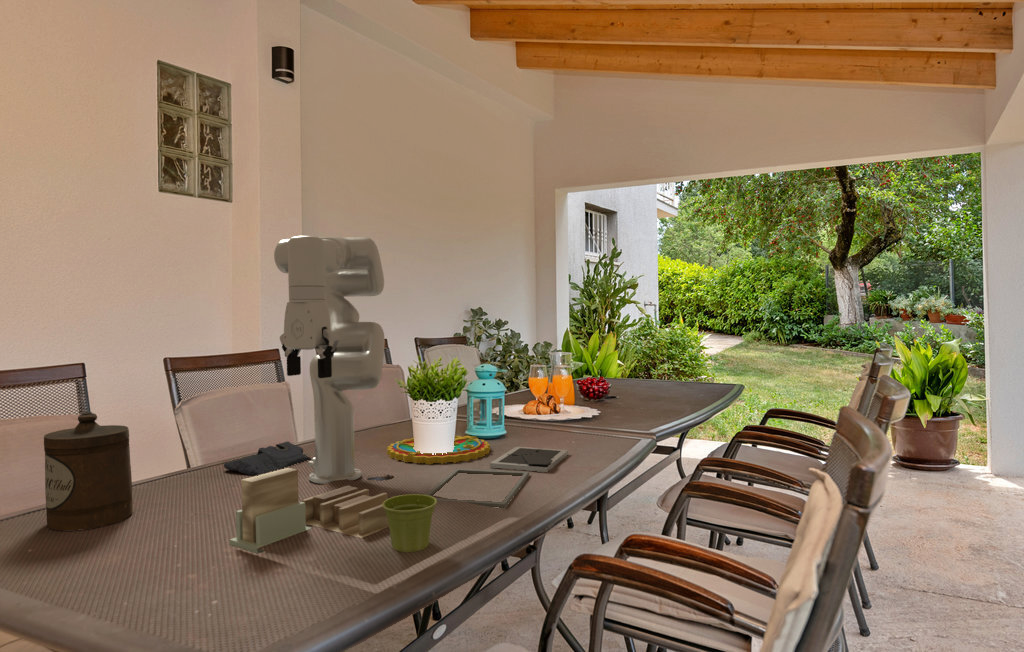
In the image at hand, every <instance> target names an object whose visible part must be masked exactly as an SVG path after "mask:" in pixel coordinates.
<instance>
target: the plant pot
mask: <svg viewBox="0 0 1024 652" xmlns="http://www.w3.org/2000/svg"><path fill="white" fill-rule="evenodd" d="M436 498H437V497H435V496H430V495H429V496H428V495H425V494H420V493H419V494H418V493H412V494H411V493H410V494H402V495H395V496H392V497H389V498H387V500H385V501H384V502H383V504H382V506H383V508H384V509H385V512H386V515H387V517H388V523H389V527H388V528H389V535H390V540H391V547H392V549H393V550H395V551H397V552H403V553H411V552H412V553H414V552H417V551H421V550H424V549H426V548H427V547H428V546H429V543H430V533H431V528H432V519H433V513H434V512H435V506H436V505H437V503H438V501H437V500H436Z"/></svg>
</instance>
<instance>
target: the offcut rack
mask: <svg viewBox="0 0 1024 652" xmlns="http://www.w3.org/2000/svg"><path fill="white" fill-rule="evenodd" d="M346 486H347V485H344V486H342V487H340V488H343V487H346ZM340 488H336V489H332V490H330V491H333V490H337V489H340ZM330 491H327V492H330ZM327 492H324V493H327ZM324 493H323V492H322V493H321V494H324ZM321 494H317V495H313V496H310V497H307V498H304V499H301V502H305V517H306V525H307V526H308V525H309V526H314V527H316V528H321V529H324V530H328V531H332V532H336V533H340V534H344V535H348V536H351V537H355V538H359V539H363V538H365V537H367V536H370V535H372V534H375V533H377V532H380V531H382V530H384V529H387V528H389V523H388V517H387V515H386V512H385V509H384V508H383V506H382V504H383V502H384V501H385V500H387V499H388V493H387V492H382V493H379V494H376V495H373V496H371V497H370V498H367V499H364V500H362V501H359V502H356V503H353V504H350V505H347V506H344V507H342V508H339V524H335V523H334V505H336V504H339V503H342V502H345V501H348V500H351V499H354V498H357V497H359V496H362V495H366V496H370V490H369V489H367V488H365V489H362V490H358V492H355V493H352V494H349V495H346V496H343V497H340V498H337V499H334V500H331V501H328V502H325V503H322V504H320V521H318V520H314V502H313V497H314V496H318V495H321Z"/></svg>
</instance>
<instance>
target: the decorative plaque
mask: <svg viewBox="0 0 1024 652" xmlns="http://www.w3.org/2000/svg"><path fill="white" fill-rule="evenodd" d="M454 436H455V441H454V446H455V447H454V450H453V452H447V454H446V453H443V455H442V453H436V455H435V453H434V455H432V453H423V454H421V453H420V451H417V452H416V451H415V450H414V449H413V447H414V438H415V437H412V438H406V439H403V440H400V441H395V443H390V445H388V446H387V448H386V455H390V456H389V459H390V458H396V459H395V461H396V460H403V461H404V462H413V464H414V463H422V464H423V463H425V465H433V463H441V464H440V465H444V464H443V463H445V464H447V463H446V462H453V463H452V464H457V463H460V462H459V461H467V462H470V461H471V460H470V459H474V460H479V458H484V457H483V456H486V455H490V452H491V444H490V443H489V441H486V440H485V439H479V438H478V437H477V436H470V435H464V436H461V435H454ZM485 454H486V455H485ZM478 457H479V458H478ZM403 461H402V462H403ZM404 462H403V463H404ZM456 462H457V463H456Z"/></svg>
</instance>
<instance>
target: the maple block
mask: <svg viewBox="0 0 1024 652" xmlns="http://www.w3.org/2000/svg"><path fill="white" fill-rule="evenodd" d="M240 481H241V510H242V524H243V540H244V541H247V542H251V543H256V516H259V515H262V514H265V513H268V512H271V511H274V510H278V509H281V508H284V507H287V506H290V505H293V504H296V503H300V501H299V470H298V469H295V468H292V467H291V468H290V467H287V468H284V469H280V470H277V471H273V472H269V473H265V474H261V475H258V476H257V475H253V476H251V477H247V478H243V479H241V480H240Z"/></svg>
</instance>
